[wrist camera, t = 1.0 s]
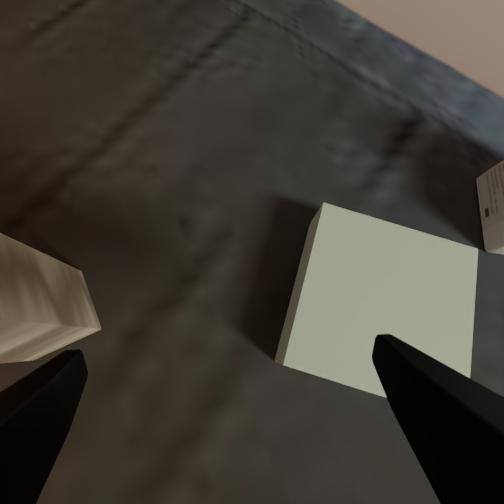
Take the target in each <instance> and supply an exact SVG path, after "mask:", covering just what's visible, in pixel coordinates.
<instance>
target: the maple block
mask: <svg viewBox="0 0 504 504" xmlns="http://www.w3.org/2000/svg"><path fill="white" fill-rule="evenodd" d="M99 330H101V326H100V323H99V320H98V317H97V314H96V311H95V309H94V306H93V303H92V300H91V297H90V294H89V291H88V288H87V286H86V283H85V280H84V277H83V274H82V271H80V270H78V269H76V268H74V267H72V266H69V265H67V264H65V263H63V262H61V261H59V260H57V259H55V258H52V257H50V256H48V255H46V254H44V253H42V252H40V251H38V250H36V249H33V248H31V247H29V246H27V245H25V244H23V243H21V242H19V241H16V240H14V239H12V238H10V237H8V236H6V235H4V234H2V233H0V363H10V362H21V361H32V360H36V359H38V358H40V357H42V356H44V355H46V354H49V353H51V352H53V351H55V350H57V349H59V348H62V347H64V346H66V345H68V344H70V343H73V342H75V341H77V340H79V339H81V338H83V337H86V336H88V335H90V334H92V333H94V332H96V331H99Z"/></svg>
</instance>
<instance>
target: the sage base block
mask: <svg viewBox="0 0 504 504" xmlns="http://www.w3.org/2000/svg"><path fill="white" fill-rule="evenodd" d="M477 261H478V249H477V248H473V247H470V246H467V245H463V244H460V243H457V242H453V241H450V240H447V239H443V238H440V237H437V236H433V235H430V234H427V233H423V232H420V231H417V230H413V229H410V228H407V227H403V226H400V225H397V224H394V223H390V222H387V221H384V220H380V219H377V218H374V217H370V216H367V215H364V214H360V213H357V212H354V211H350V210H347V209H344V208H340V207H337V206H334V205H330V204H327V203H323V204H322V206H321V207H320V209H319V210H318V212H317V213H316V215H315V216H314V218H313V219H312V221H311V222H310V226H309V229H308V233H307V237H306V241H305V245H304V249H303V253H302V256H301V260H300V264H299V268H298V272H297V276H296V280H295V284H294V287H293V291H292V295H291V299H290V303H289V307H288V311H287V314H286V318H285V322H284V326H283V330H282V334H281V338H280V342H279V345H278V349H277V353H276V357H275V362H277V363H279V364H282V365H284V366H287V367H291V368H294V369H297V370H300V371H303V372H306V373H310V374H313V375H316V376H319V377H322V378H325V379H329V380H332V381H335V382H338V383H341V384H344V385H348V386H351V387H354V388H357V389H360V390H363V391H367V392H370V393H373V394H376V395H379V396H382V397H386V394H385V392H384V389H383V387H382V384H381V382H380V379H379V377H378V374H377V372H376V369H375V367H374V364H373V361H372V352H373V347H374V341H375V337H376V336H377V335H378V334H391V335H393V336H395V337H397V338H398V339H400V340H402V341H404V342H406V343H407V344H409V345H411V346H413V347H414V348H416V349H418V350H420V351H422V352H423V353H425V354H427V355H429V356H431V357H432V358H434V359H436V360H438V361H440V362H441V363H443V364H445V365H447V366H448V367H450V368H452V369H454V370H456V371H457V372H459V373H461V374H463V375H465V376H466V377H468V378H470V371H471V355H472V339H473V324H474V308H475V292H476V276H477ZM386 398H387V397H386Z"/></svg>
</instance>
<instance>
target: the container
mask: <svg viewBox="0 0 504 504" xmlns="http://www.w3.org/2000/svg"><path fill="white" fill-rule="evenodd" d="M476 183H477V191H478V199H479V207H480V215H481V223H482V231H483V239H484V247H485V250H486V251H487V252H488V253H495V254H502V255H504V160H503V161H501V162H500V163H498V164H497V165H495V166H494V167H492V168H491V169H489V170H488V171H486V172H485V173H483V174H482V175H481V176H479V177H478V178H477V179H476Z"/></svg>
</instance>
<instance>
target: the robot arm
mask: <svg viewBox="0 0 504 504" xmlns="http://www.w3.org/2000/svg"><path fill="white" fill-rule="evenodd" d="M372 361H373V364H374V367H375V369H376V372H377V374H378V377H379V379H380V382H381V384H382V387H383V389H384V392H385V394H386V397H387V399H388V402H389V404H390V406H391V409H392V411H393V413H394V415H395V417H396V419H397V421H398V422H399V424H400V426H401V428H402V430H403V432H404V434H405V436H406V438H407V440H408V442H409V444H410V446H411V447H412V449H413V451H414V453H415V455H416V457H417V459H418V461H419V463H420V465H421V467H422V469H423V470H424V472H425V474H426V476H427V478H428V480H429V482H430V484H431V486H432V488H433V490H434V492H435V494H436V495H437V497H438V499H439V501H440V503H441V504H504V397H502V396H500V395H499V394H497V393H495V392H493V391H491V390H490V389H488V388H486V387H484V386H483V385H481V384H479V383H477V382H475V381H474V380H472V379H470V378H468V377H466V376H465V375H463V374H461V373H459V372H457V371H456V370H454V369H452V368H450V367H448V366H447V365H445V364H443V363H441V362H440V361H438V360H436V359H434V358H432V357H431V356H429V355H427V354H425V353H423V352H422V351H420V350H418V349H416V348H414V347H413V346H411V345H409V344H407V343H406V342H404V341H402V340H400V339H398V338H397V337H395V336H393V335H391V334H378V335H377V336H376V337H375V341H374V347H373V352H372ZM87 377H88V371H87V367H86V363H85V359H84V355H83V352H82V351H81V350H66V351H64V352H62V353H60V354H59V355H57V356H56V357H54V358H53V359H51V360H50V361H48V362H46V363H45V364H43V365H42V366H40V367H39V368H37V369H36V370H34V371H32V372H31V373H29V374H28V375H26V376H25V377H23V378H22V379H20V380H18V381H17V382H15V383H14V384H12V385H11V386H9V387H8V388H6V389H4V390H3V391H1V392H0V504H36V502H37V500H38V498H39V496H40V494H41V491H42V489H43V487H44V485H45V483H46V481H47V478H48V476H49V474H50V472H51V470H52V468H53V465H54V463H55V461H56V459H57V457H58V454H59V452H60V450H61V448H62V446H63V444H64V441H65V439H66V437H67V434H68V432H69V430H70V427H71V424H72V421H73V419H74V416H75V413H76V410H77V407H78V404H79V401H80V398H81V395H82V392H83V389H84V386H85V384H86V381H87Z"/></svg>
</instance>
